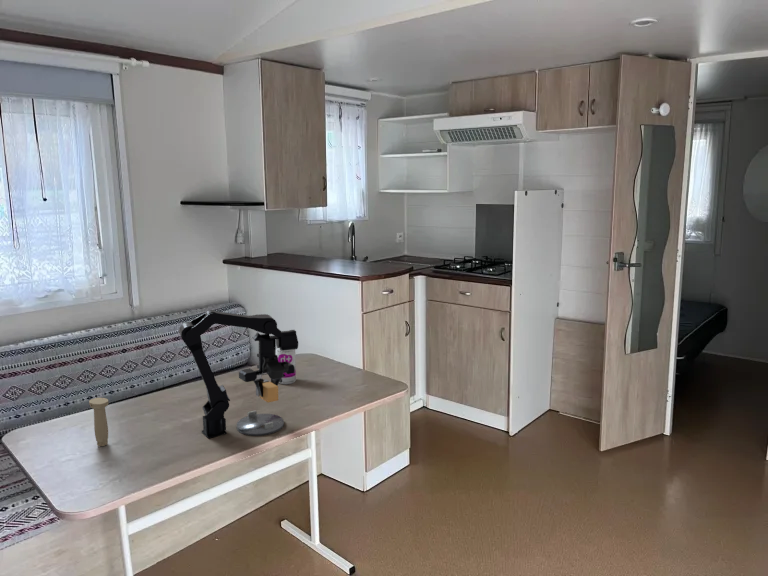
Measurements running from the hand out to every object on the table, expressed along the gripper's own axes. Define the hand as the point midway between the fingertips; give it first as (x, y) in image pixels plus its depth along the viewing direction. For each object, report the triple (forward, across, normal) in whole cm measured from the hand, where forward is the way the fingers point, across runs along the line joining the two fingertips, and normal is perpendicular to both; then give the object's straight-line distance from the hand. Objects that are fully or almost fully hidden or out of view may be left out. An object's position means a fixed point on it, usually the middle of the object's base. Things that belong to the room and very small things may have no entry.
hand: (267, 395), depth 205 cm
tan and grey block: (+1, 0, 0) cm, 1 cm away
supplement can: (+10, +26, +35) cm, 45 cm away
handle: (+12, -50, +17) cm, 54 cm away
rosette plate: (+11, -3, 0) cm, 11 cm away
